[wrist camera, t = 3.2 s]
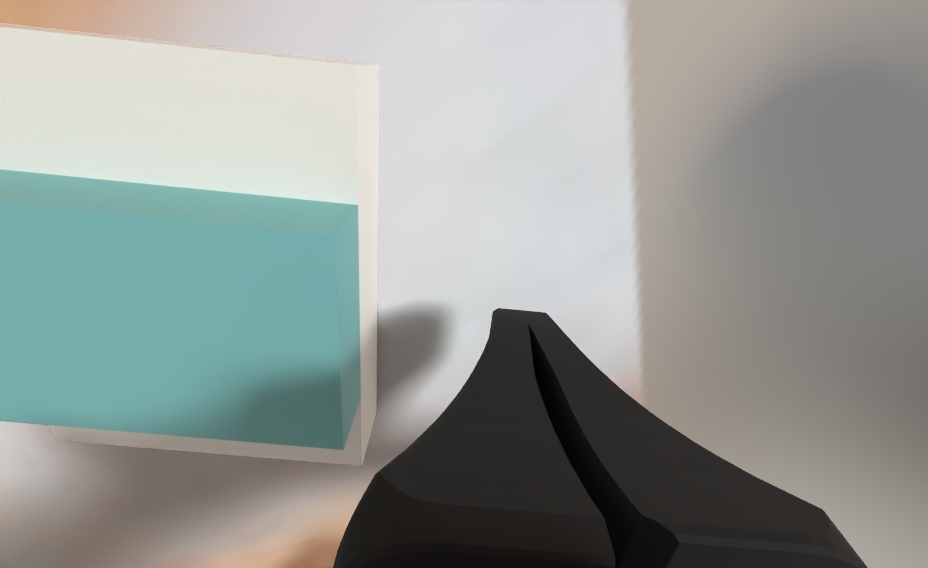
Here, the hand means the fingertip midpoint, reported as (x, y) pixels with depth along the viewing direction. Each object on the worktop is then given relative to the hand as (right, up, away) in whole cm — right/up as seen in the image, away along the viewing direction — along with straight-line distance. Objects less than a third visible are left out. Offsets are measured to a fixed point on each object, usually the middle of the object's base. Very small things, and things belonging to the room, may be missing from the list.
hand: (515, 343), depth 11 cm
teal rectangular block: (-9, +1, 0) cm, 9 cm away
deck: (-9, +2, +3) cm, 10 cm away
